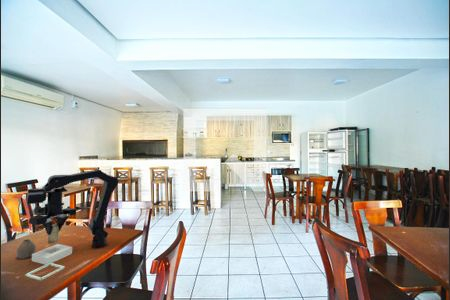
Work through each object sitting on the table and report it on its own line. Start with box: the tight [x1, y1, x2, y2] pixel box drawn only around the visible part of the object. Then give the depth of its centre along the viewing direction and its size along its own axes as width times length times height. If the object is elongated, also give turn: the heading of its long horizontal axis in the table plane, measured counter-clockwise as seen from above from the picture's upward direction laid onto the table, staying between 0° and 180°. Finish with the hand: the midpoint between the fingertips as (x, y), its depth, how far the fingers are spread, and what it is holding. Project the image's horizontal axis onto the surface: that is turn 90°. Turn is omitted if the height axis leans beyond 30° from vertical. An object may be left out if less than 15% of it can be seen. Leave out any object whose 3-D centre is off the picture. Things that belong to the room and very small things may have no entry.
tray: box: [24, 262, 66, 282], centre depth 96 cm, size 10×9×2 cm
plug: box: [47, 223, 60, 245], centre depth 108 cm, size 4×4×8 cm
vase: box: [16, 238, 37, 260], centre depth 108 cm, size 7×7×9 cm
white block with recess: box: [31, 243, 73, 265], centre depth 108 cm, size 12×10×4 cm
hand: (53, 233), depth 108 cm, fingers closed on plug, 4 cm apart
